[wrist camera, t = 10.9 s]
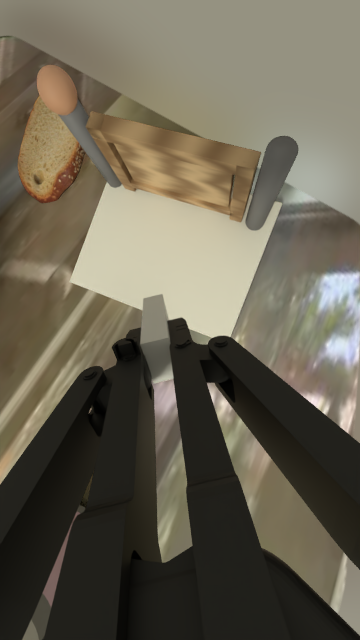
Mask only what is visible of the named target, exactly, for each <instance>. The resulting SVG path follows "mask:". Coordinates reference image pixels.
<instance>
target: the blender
mask: <svg viewBox="0 0 360 640" xmlns="http://www.w3.org/2000/svg"><path fill="white" fill-rule="evenodd" d="M85 509H86V508H85V507H83V506H81V505H79V507H78V509H77V512H76V514H75V517H74V519H73V521H74V520H75V518H76V516H77V515H79V514H80V513H82V512H84V510H85ZM73 521H72V524H73ZM72 524H71V526H70V529H69V531H68V533H67V536H66V538H65V541H64V543H63V545H62V548H61V550H60V553H59V555H58V557H57V560H56V562H55V565H54V567H53V569H52V572H51V574H50V576H49V579H48V581H47V584H46V586H45V588H44V591H43V593H42V596H41V598H40V600H39V603H38V605H37V608H36V610H35V612H34V615H33V617H32V619H31V621H30V623H29V626H28V628H27V630H26V632H25V635H24V637H23V639H22V640H42V639H43V637H44V636H45V631H46V627H47V623H48V619H49V615H50V611H51V607H52V603H53V599H54V595H55V590H56V586H57V582H58V578H59V574H60V570H61V566H62V562H63V558H64V554H65V549H66V545H67V541H68V537H69V533H70V530H71V527H72Z"/></svg>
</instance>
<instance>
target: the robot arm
mask: <svg viewBox="0 0 360 640" xmlns="http://www.w3.org/2000/svg"><path fill="white" fill-rule="evenodd" d="M112 349H113V351H114V354H115V356H116V358H117V363H116V365H115V366H113V367H111V368H109V369H107V370H105V371H103V368H102V367H100V366H94V367H90V368H88V369H86V370H84V371H83V372H82V373H81V374H80V375H79V376H78V377H77V379H76V380H75V381H74V383H73V384H72V385H71V387H70V388H69V390H68V391H67V392H66V394H65V395H64V397H63V398H62V399H61V401H60V402H59V404H58V405H57V406H56V408H55V409H54V411H53V412H52V413H51V415H50V416H49V418H48V419H47V420H46V422H45V423H44V424H43V426H42V427H41V429H40V430H39V431H38V433H37V434H36V436H35V437H34V438H33V440H32V441H31V443H30V444H29V445H28V447H27V448H26V450H25V451H24V452H23V454H22V455H21V457H20V458H19V459H18V461H17V462H16V464H15V465H14V466H13V468H12V469H11V470H10V472H9V473H8V475H7V476H6V477H5V479H4V480H3V482H2V483H1V484H0V640H22V639H23V637H24V635H25V632H26V630H27V628H28V626H29V623H30V621H31V619H32V617H33V615H34V612H35V610H36V608H37V605H38V603H39V600H40V598H41V596H42V593H43V591H44V588H45V586H46V584H47V581H48V579H49V576H50V574H51V572H52V569H53V567H54V565H55V562H56V560H57V557H58V555H59V553H60V550H61V548H62V545H63V543H64V541H65V538H66V536H67V533H68V531H69V529H70V526H71V524H72V521H73V519H74V517H75V514H76V512H77V509H78V507H79V505H80V502H81V500H82V498H83V495H84V493H85V490H86V488H87V486H88V483H89V481H90V478H91V476H92V474H93V471H94V474H93V478H92V483H91V488H90V493H89V498H88V502H87V506H86V509H85V510H84V512H82V513H80V514H79V515H77V516H76V518H75V520H74V521H73V524H72V527H71V530H70V533H69V537H68V541H67V545H66V549H65V554H64V558H63V562H62V566H61V570H60V574H59V578H58V582H57V586H56V590H55V595H54V599H53V603H52V607H51V611H50V615H49V619H48V623H47V627H46V631H45V636H44V637H43V639H42V640H360V636H359V635H358V634H357V633H356V632H355V631H354V630H353V629H352V628H351V627H350V626H349V625H348V624H347V623H346V622H345V621H344V620H343V619H342V618H341V617H340V616H339V615H338V614H337V613H336V612H335V611H334V610H333V609H332V608H331V607H330V606H329V605H328V604H327V603H326V602H325V601H324V600H323V599H322V598H321V597H320V596H319V595H318V594H317V593H316V592H315V591H314V590H313V589H312V588H311V587H310V586H309V585H308V584H307V583H306V582H305V581H304V580H303V579H302V578H301V577H300V576H299V575H298V574H297V573H296V572H295V571H294V570H292V569H291V568H290V567H289V566H288V565H287V564H286V563H285V562H283V561H282V560H281V559H279V558H278V557H277V556H275V555H274V554H272V553H270V552H269V551H267V550H265V549H263V548H261V546H260V543H259V540H258V536H257V533H256V530H255V527H254V524H253V521H252V518H251V515H250V512H249V509H248V506H247V502H246V499H245V496H244V493H243V490H242V487H241V484H240V481H239V479H238V476H237V475H236V473H235V471H234V468H233V465H232V462H231V459H230V456H229V452H228V449H227V446H226V443H225V440H224V437H223V433H222V430H221V427H220V424H219V421H218V418H217V414H216V411H215V408H214V405H213V402H212V399H211V395H210V392H209V389H208V386H207V383H206V382H209V383H215V385H216V387H217V388H218V389H219V391H220V392H221V393H222V395H223V396H224V397H225V398H226V400H227V401H228V402H229V404H230V405H231V406H232V408H233V409H234V410H235V412H236V413H237V414H238V415H239V417H240V418H241V419H242V421H243V422H244V423H245V425H246V426H247V427H248V429H249V430H250V431H251V432H252V434H253V435H254V436H255V438H256V439H257V440H258V442H259V443H260V444H261V445H262V447H263V448H264V449H265V451H266V452H267V453H268V455H269V456H270V457H271V459H272V460H273V461H274V462H275V464H276V465H277V466H278V468H279V469H280V470H281V472H282V473H283V474H284V476H285V477H286V478H287V479H288V481H289V482H290V483H291V485H292V486H293V487H294V489H295V490H296V491H297V493H298V494H299V495H300V496H301V498H302V499H303V500H304V502H305V503H306V504H307V506H308V507H309V508H310V510H311V511H312V512H313V513H314V515H315V516H316V517H317V519H318V520H319V521H320V523H321V524H322V525H323V527H324V528H325V529H326V530H327V532H328V533H329V534H330V536H331V537H332V538H333V539H334V541H335V542H336V543H337V544H338V546H339V547H340V548H341V549H342V550H343V552H344V553H345V554H346V555H347V556H348V558H349V559H350V560H351V561H352V562H353V563H354V564H355V565H356V566H357V567H358V568H359V569H360V443H359V442H357V441H356V440H355V439H354V438H353V437H351V436H350V435H349V434H348V433H347V432H345V431H344V430H343V429H342V428H340V427H339V426H338V425H337V424H336V423H334V422H333V421H332V420H331V419H330V418H328V417H327V416H326V415H325V414H323V413H322V412H321V411H320V410H319V409H317V408H316V407H315V406H314V405H313V404H311V403H310V402H309V401H308V400H307V399H305V398H304V397H303V396H302V395H300V394H299V393H298V392H297V391H296V390H294V389H293V388H292V387H291V386H290V385H288V384H287V383H286V382H285V381H283V380H282V379H281V378H280V377H279V376H277V375H276V374H275V373H274V372H273V371H271V370H270V369H269V368H268V367H266V366H265V365H264V364H263V363H262V362H260V361H259V360H258V359H257V358H256V357H254V356H253V355H252V354H251V353H250V352H248V351H247V350H246V349H245V348H243V347H242V346H241V345H240V344H239V343H237V342H236V341H235V340H234V339H233V338H231V337H229V336H217V337H214V338H212V339H211V340H210V341H209V342H208V345H201V344H197V343H195V342H193V340H192V338H191V335H190V332H189V329H188V325H187V322H186V320H185V319H183V318H182V317H181V318H177V319H173V320H169V318H168V314H167V310H166V306H165V302H164V298H163V294H160V295H155V296H151V297H147V298H143V310H142V325H141V328H137V329H133V330H130V331H129V332H128V334H127V335H126V338H124V339H121V340H119V341H117V342H116V343H115V344H114V345H113V346H112ZM151 378H152V380H153V383H158V382H162V381H166V380H171V379H174V386H175V393H176V401H177V408H178V416H179V423H180V431H181V438H182V446H183V453H184V461H185V468H186V476H187V487H186V494H187V503H188V511H189V519H190V528H191V536H192V544H193V546H192V547H190V548H189V549H187V550H185V551H184V552H182V553H181V554H179V555H178V556H176V557H175V558H173V559H171V560H170V561H168V562H166V563H162V560H161V554H160V549H159V544H158V532H157V493H156V454H155V415H154V389H153V386H152V382H151ZM90 408H92V410H91V412H90V413H89V410H90Z"/></svg>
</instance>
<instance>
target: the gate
mask: <svg viewBox="0 0 360 640" xmlns="http://www.w3.org/2000/svg"><path fill="white" fill-rule="evenodd" d="M86 128H87V130H88V132H89V133H90V135H91V136H92V138H93V139H94V141H95V142H96V144H97V146H98V147H99V149H100V150H101V152H102V153H103V155H104V157H105V158H106V160H107V161H108V163H109V164H110V166H111V168H112V169H113V171H114V172H115V174H116V175H117V177H118V179H119V180H120V182H121V183H122V185H123V186H124V188H125V189H128V190H131V191H134V192H135V191H136V189H140V190H143V191H146V192H150V193H153V194H157V195H160V196H164V197H167V198H171V199H174V200H178V201H181V202H185V203H188V204H191V205H195V206H198V207H202V208H205V209H209V210H212V211H216V212H219V213H223V214H226V215H230V217H229V219H230V220H234V221H237V222H242V219H243V216H244V213H245V211H246V207H247V203H248V199H249V196H250V192H251V188H252V184H253V181H254V177H255V173H256V169H257V166H258V162H259V158H260V154H261V152H258V151H255V150H250V149H246V148H242V147H238V146H234V145H229V144H225V143H221V142H217V141H213V140H209V139H205V138H200V137H196V136H192V135H188V134H184V133H180V132H175V131H171V130H167V129H163V128H159V127H155V126H150V125H146V124H142V123H138V122H134V121H130V120H125V119H121V118H117V117H113V116H109V115H105V114H100V113H96V112H92V111H91V113H90V116H89V119H88V122H87V125H86ZM234 175H235V180H234V188H233V195H232V198H231V194H232V186H233V178H234Z"/></svg>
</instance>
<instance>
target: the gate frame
mask: <svg viewBox="0 0 360 640" xmlns="http://www.w3.org/2000/svg"><path fill="white" fill-rule="evenodd" d="M37 88H38V92H39V94H40V97H41V99H42V100H43V102H44V103H45V105H46V106H47V107H48V108H49V109H50V110H51V111H53V112H54V113H56V114H58V115H59V116H60V118H61V119H62V121H63V122H64V123H65V125H66V126H67V127H68V129H69V130H70V132H71V133H72V134H73V136H74V137H75V138H76V140H77V141H78V142H79V144H80V145H81V147H82V148H83V149H84V151H85V152H86V153H87V155H88V156H89V158H90V159H91V160H92V162H93V163H94V164H95V166H96V167H97V168H98V170H99V171H100V173H101V174H102V175H103V177H104V178H105V179H106V181H107V183H106V186H105V188H104V191H103V194H102V196H101V199H100V202H99V204H98V207H97V210H96V212H95V215H94V218H93V221H92V223H91V226H90V229H89V231H88V234H87V237H86V239H85V242H84V245H83V247H82V250H81V253H80V255H79V258H78V261H77V263H76V266H75V269H74V271H73V274H72V277H71V279H70V282H71V283H74V284H76V285H79V286H82V287H84V288H87V289H89V290H92V291H94V292H97V293H99V294H102V295H105V296H107V297H110V298H112V299H115V300H117V301H120V302H122V303H125V304H128V305H130V306H133V307H135V308H138V309H140V310H143V298H147V297H151V296H155V295H160V294H163V298H164V302H165V306H166V310H167V314H168V318H169V320H173V319H177V318H181V317H182V318H183V319H185V320H186V322H187V325H188V328H189V329H191V330H194V331H196V332H199V333H201V334H204V335H207V336H209V337H212V338H214V337H217V336H229V337H230V336H231V334H232V331H233V329H234V326H235V324H236V321H237V318H238V316H239V313H240V311H241V308H242V306H243V303H244V301H245V298H246V295H247V293H248V290H249V288H250V285H251V283H252V280H253V277H254V275H255V272H256V270H257V267H258V265H259V262H260V260H261V257H262V254H263V252H264V249H265V247H266V244H267V242H268V239H269V236H270V234H271V231H272V229H273V226H274V224H275V221H276V219H277V216H278V213H279V211H280V208H281V206H282V203H280V202H276V201H275V200H276V198H277V196H278V194H279V192H280V190H281V188H282V186H283V184H284V181H285V179H286V177H287V175H288V173H289V171H290V169H291V167H292V165H293V163H294V161H295V158H296V156H297V154H298V145H297V143H296V141H294V139H292V138H291V137H288V136H280V137H276V138H274V139H273V140H272V141H271V142H270V143H269V144H268V146H267V148H266V151H265V155H264V158H263V162H262V165H261V169H260V172H259V175H258V179H257V182H256V186H255V189H254V193H253V195H252V194H250V196H249V199H248V203H247V207H246V211H245V213H244V216H243V219H242V222H237V221H234V220H230V219H229V217H230V215H226V214H223V213H219V212H216V211H212V210H209V209H205V208H202V207H198V206H195V205H191V204H188V203H185V202H181V201H178V200H174V199H171V198H167V197H164V196H160V195H157V194H153V193H150V192H146V191H143V190H140V189H136V191H135V192H134V191H131V190H128V189H125V188H124V186H123V185H122V183H121V182H120V180H119V179H118V177H117V175H116V174H115V172H114V171H113V169H112V168H111V166H110V164H109V163H108V161H107V160H106V158H105V157H104V155H103V153H102V152H101V150H100V149H99V147H98V146H97V144H96V142H95V141H94V139H93V138H92V136H91V135H90V133H89V132H88V130H87V128H86V125H87V122H88V119H89V117H88V115H87V113H86V112H85V110H84V108H83V106H82V105H81V103H80V101H79V100H78V98H77V91H76V88H75V85H74V83H73V81H72V79H71V78H70V76H69V75H68V74H67V73H66V72H65V71H64V70H63V69H61V68H60V67H58V66H55V65H46V66H44V67H42V68H41V70H40V71H39V73H38V76H37ZM232 195H233V189H232V194H231V198H232Z"/></svg>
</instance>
